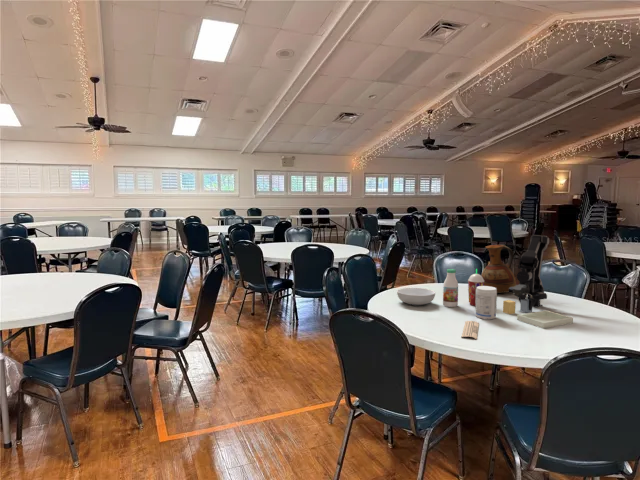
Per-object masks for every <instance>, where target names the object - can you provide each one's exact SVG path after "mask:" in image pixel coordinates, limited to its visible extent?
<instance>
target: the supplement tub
mask: <svg viewBox="0 0 640 480" xmlns="http://www.w3.org/2000/svg"><path fill="white" fill-rule="evenodd" d="M497 295H498V293H497V289H496V288H495V287H490V286H478V287H476V306H475V310H474V311H475V317H476V318H478V319H483V320H493V319H496V317H497V299H498V298H497Z"/></svg>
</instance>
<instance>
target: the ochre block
mask: <svg viewBox="0 0 640 480" xmlns="http://www.w3.org/2000/svg"><path fill="white" fill-rule="evenodd" d="M502 312H503V313H505V314H507V315H513V314H515V313H516V301H514V300H511V299H506V300H503V304H502Z"/></svg>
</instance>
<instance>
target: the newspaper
mask: <svg viewBox="0 0 640 480" xmlns="http://www.w3.org/2000/svg"><path fill="white" fill-rule="evenodd" d="M479 324H480V322H478V321H476V320H466V321H464V327H463V330H462V333H461V338H462V339H463V338H464V337H465V338H466V337H468V338H469V337H470V338H473V339H475V340H478V339H477V338H478V331H479Z"/></svg>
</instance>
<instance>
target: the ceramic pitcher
mask: <svg viewBox="0 0 640 480" xmlns="http://www.w3.org/2000/svg"><path fill="white" fill-rule="evenodd" d="M485 249H487V250H488V252H489V253H488V254H489V255H488V256H489V259H490V261H489V263H488V264H487V265H486V266H485V268H484V269H483V271H482V272H481V274H480V275H481V276H482V277H483V279H484V286H490V287H495V288H496V289H497V294H499V293H501V294H502V293H510V292H509V288H510V287H515V286H516V285H517V282H516V276H515V275H514V273H513V271H512V269H511V266H512V263H513V260H514V252H513V250H512V249H511V248H510V247H508V246H506V245H505V244H492V245H490V244H489V245H487V246H485ZM505 249H506V250H507V251H508V253H509V254H508V256H509V258H508V260H507V263H504V262H503V261H502V258H501V257H502V256H501V252H502V250H505Z"/></svg>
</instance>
